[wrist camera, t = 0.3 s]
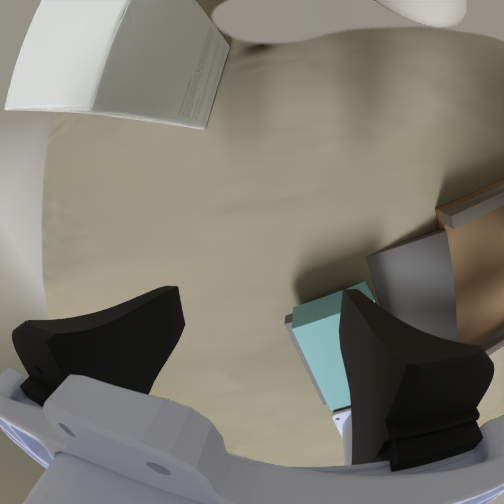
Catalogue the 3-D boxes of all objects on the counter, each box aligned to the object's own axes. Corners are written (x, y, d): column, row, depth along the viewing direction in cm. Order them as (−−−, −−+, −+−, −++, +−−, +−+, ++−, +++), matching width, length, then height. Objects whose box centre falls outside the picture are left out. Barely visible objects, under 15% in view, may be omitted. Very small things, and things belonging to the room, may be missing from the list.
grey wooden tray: (515, 312, 19) (534, 331, 15) (393, 375, 24) (402, 404, 20) (508, 173, 16) (537, 179, 12) (357, 237, 20) (371, 256, 16)
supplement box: (151, 41, 17) (46, -15, 5) (233, 46, 16) (160, -52, 4) (126, 119, 19) (-1, 111, 7) (206, 133, 19) (89, 112, 7)
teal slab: (385, 363, 23) (394, 390, 19) (322, 383, 25) (323, 412, 21) (363, 277, 20) (374, 300, 17) (286, 304, 22) (283, 331, 19)
